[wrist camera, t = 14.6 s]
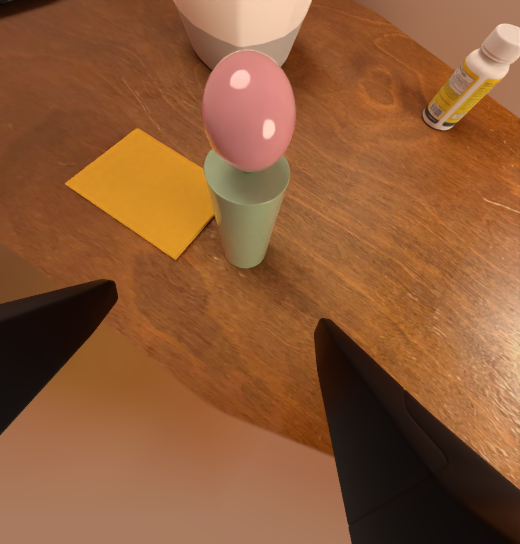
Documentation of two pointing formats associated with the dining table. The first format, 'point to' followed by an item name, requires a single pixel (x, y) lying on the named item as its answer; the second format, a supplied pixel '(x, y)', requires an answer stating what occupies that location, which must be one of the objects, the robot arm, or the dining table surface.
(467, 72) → the supplement bottle
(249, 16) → the bowl
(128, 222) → the cloth
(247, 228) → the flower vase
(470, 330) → the dining table surface
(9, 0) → the plate
